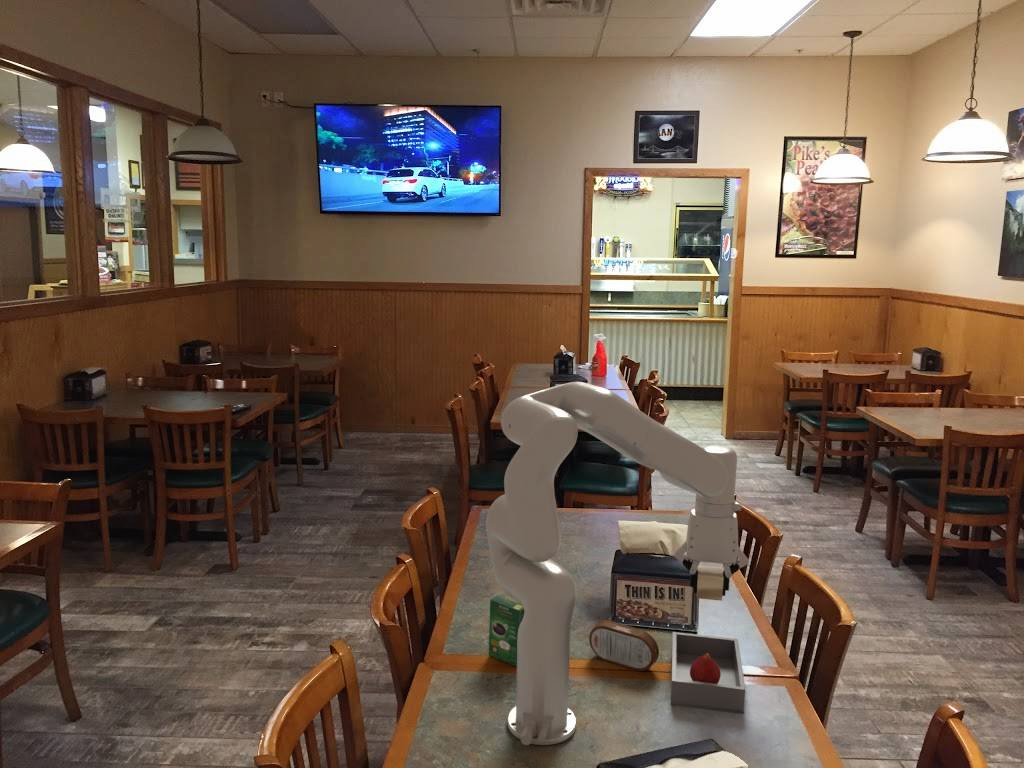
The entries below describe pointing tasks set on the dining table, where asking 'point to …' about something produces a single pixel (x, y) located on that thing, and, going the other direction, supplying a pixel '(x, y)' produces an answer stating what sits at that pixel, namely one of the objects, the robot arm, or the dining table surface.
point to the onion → (705, 670)
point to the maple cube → (710, 583)
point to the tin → (623, 645)
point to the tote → (702, 694)
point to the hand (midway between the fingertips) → (708, 590)
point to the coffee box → (504, 629)
